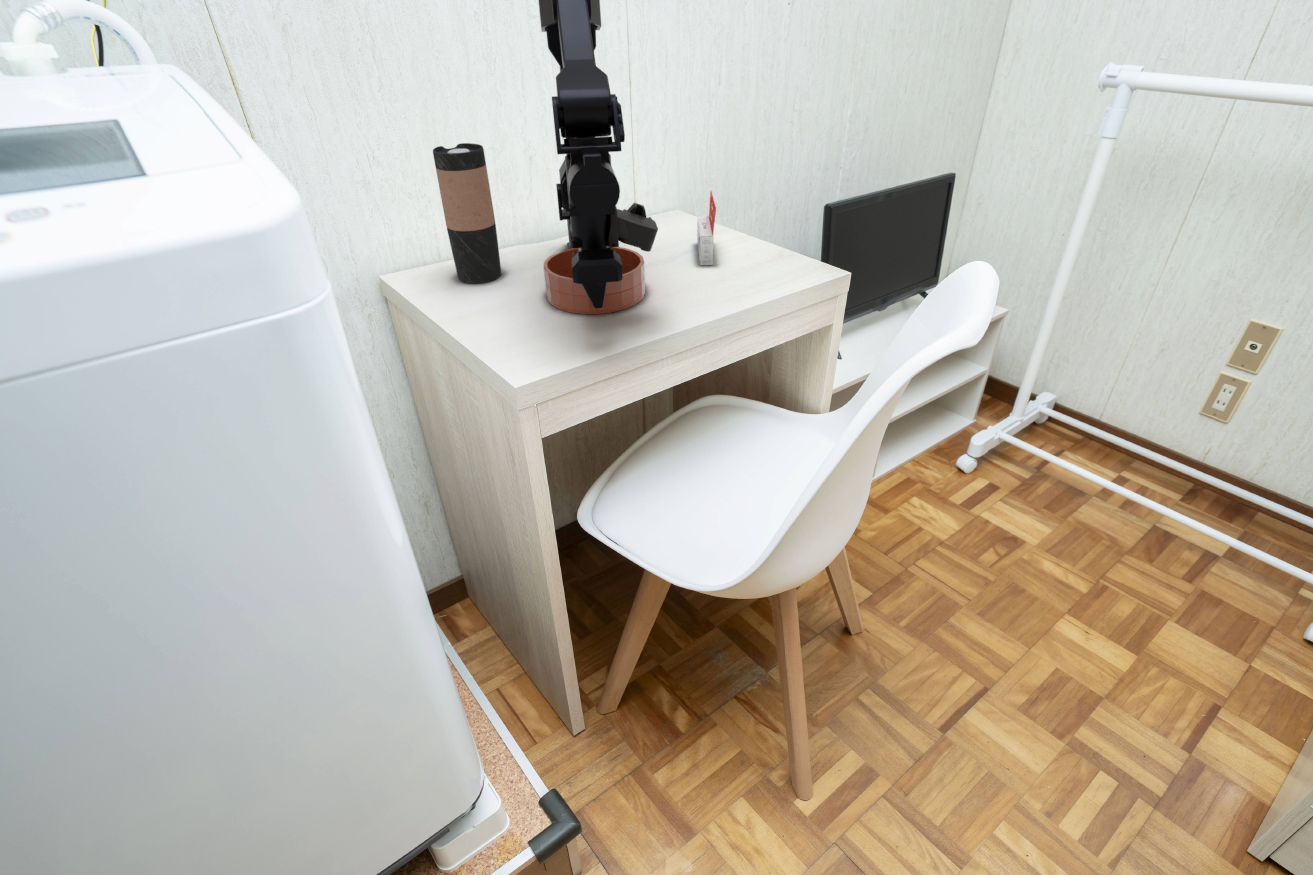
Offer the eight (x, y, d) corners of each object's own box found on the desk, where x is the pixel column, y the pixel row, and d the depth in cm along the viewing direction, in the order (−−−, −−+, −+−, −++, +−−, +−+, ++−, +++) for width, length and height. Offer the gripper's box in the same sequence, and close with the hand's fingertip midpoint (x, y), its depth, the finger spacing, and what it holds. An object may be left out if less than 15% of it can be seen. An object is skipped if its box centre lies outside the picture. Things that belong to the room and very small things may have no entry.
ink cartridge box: (699, 266, 114) (701, 207, 108) (696, 244, 123) (697, 190, 117) (714, 265, 114) (716, 207, 108) (709, 244, 123) (711, 189, 117)
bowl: (548, 279, 110) (544, 248, 107) (639, 273, 111) (638, 243, 108) (546, 317, 97) (542, 283, 94) (649, 310, 99) (649, 277, 96)
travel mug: (492, 285, 108) (470, 154, 96) (448, 282, 109) (422, 153, 98) (510, 269, 114) (491, 143, 102) (468, 266, 115) (446, 142, 104)
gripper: (661, 212, 79) (663, 332, 88) (645, 174, 94) (647, 279, 103) (567, 217, 78) (578, 338, 87) (565, 177, 93) (575, 283, 102)
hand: (598, 307), depth 94 cm, fingers closed
